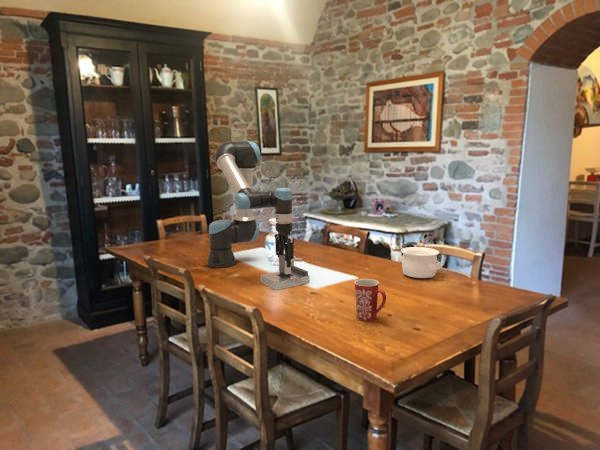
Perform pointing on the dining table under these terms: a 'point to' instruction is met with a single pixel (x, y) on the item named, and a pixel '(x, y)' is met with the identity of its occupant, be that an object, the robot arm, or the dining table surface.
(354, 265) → the dining table surface
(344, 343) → the dining table surface
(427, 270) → the pot
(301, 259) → the tan toy jack
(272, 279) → the block
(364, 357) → the dining table surface
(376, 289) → the mug
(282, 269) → the dark steel cylinder
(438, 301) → the dining table surface
